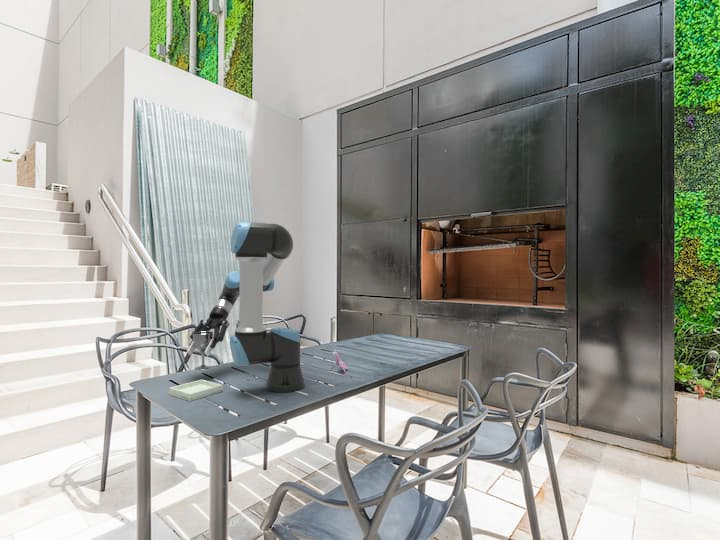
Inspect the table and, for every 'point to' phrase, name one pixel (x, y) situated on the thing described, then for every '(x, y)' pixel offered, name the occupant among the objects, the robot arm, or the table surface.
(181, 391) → the white tray
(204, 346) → the wine glass
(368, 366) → the table surface
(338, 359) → the lily
